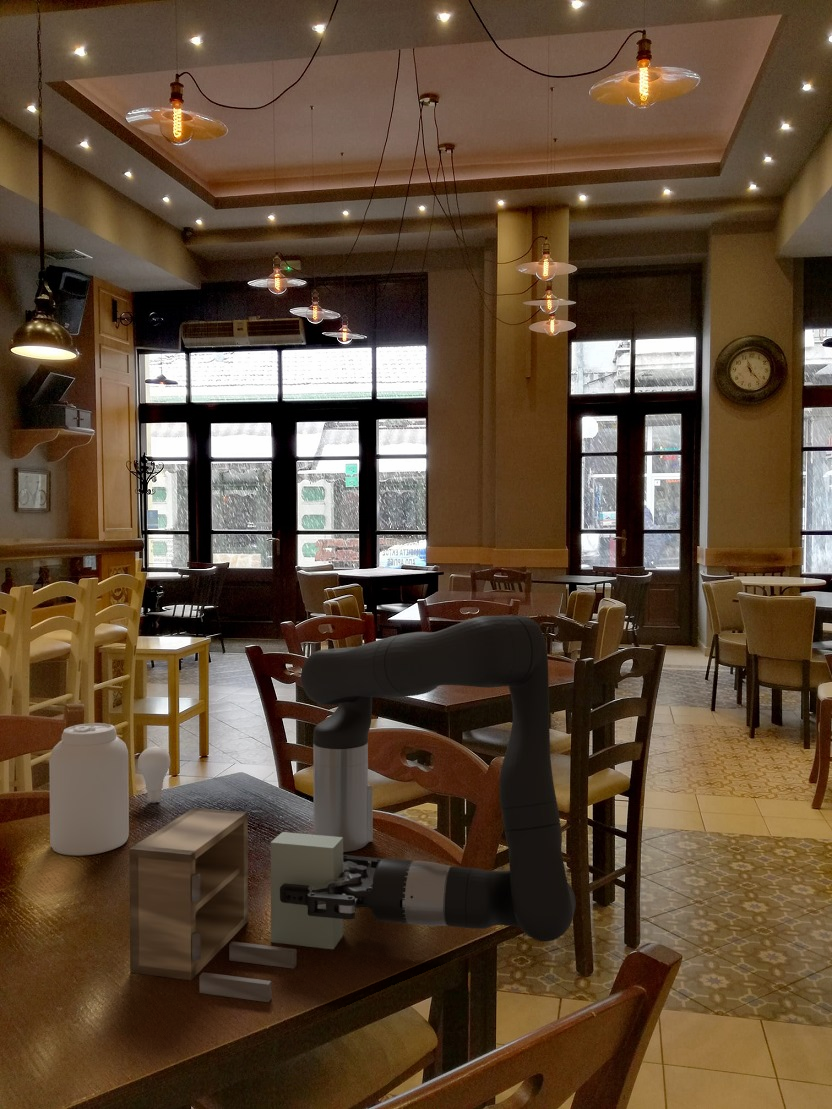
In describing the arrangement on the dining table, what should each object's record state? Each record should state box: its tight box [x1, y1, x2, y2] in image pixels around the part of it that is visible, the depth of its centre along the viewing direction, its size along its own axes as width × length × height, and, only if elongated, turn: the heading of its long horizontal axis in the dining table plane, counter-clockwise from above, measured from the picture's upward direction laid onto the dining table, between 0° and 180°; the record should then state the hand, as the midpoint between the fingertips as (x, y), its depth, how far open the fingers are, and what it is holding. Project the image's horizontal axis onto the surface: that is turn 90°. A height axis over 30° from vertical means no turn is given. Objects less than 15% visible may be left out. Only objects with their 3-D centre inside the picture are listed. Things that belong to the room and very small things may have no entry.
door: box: [270, 831, 344, 950], centre depth 114 cm, size 5×8×13 cm, turn 77°
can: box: [48, 722, 130, 856], centre depth 148 cm, size 12×12×20 cm
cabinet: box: [128, 807, 297, 1003], centre depth 109 cm, size 18×19×15 cm
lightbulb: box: [137, 746, 171, 804], centre depth 170 cm, size 6×6×11 cm
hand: (293, 879), depth 114 cm, fingers open, 8 cm apart
